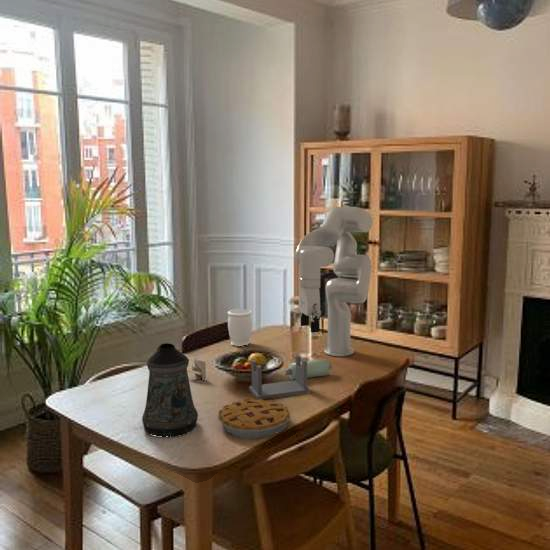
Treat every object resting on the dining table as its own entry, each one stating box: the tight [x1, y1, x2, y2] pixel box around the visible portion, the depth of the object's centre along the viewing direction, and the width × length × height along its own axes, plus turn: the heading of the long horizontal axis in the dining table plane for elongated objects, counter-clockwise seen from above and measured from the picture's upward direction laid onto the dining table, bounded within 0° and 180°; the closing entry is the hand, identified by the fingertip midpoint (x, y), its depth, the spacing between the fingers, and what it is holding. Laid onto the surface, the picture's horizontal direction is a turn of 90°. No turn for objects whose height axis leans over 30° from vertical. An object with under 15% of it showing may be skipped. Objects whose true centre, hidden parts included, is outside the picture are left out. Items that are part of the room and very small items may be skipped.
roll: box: [284, 358, 333, 381], centre depth 217 cm, size 6×18×6 cm, turn 109°
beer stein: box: [141, 342, 199, 438], centre depth 175 cm, size 16×19×25 cm
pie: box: [217, 398, 291, 439], centre depth 176 cm, size 22×22×5 cm
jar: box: [227, 308, 253, 347], centre depth 258 cm, size 11×10×15 cm
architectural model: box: [187, 358, 207, 382], centre depth 216 cm, size 3×7×7 cm, turn 52°
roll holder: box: [248, 354, 311, 400], centre depth 202 cm, size 10×19×11 cm, turn 109°
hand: (309, 328), depth 214 cm, fingers open, 9 cm apart
